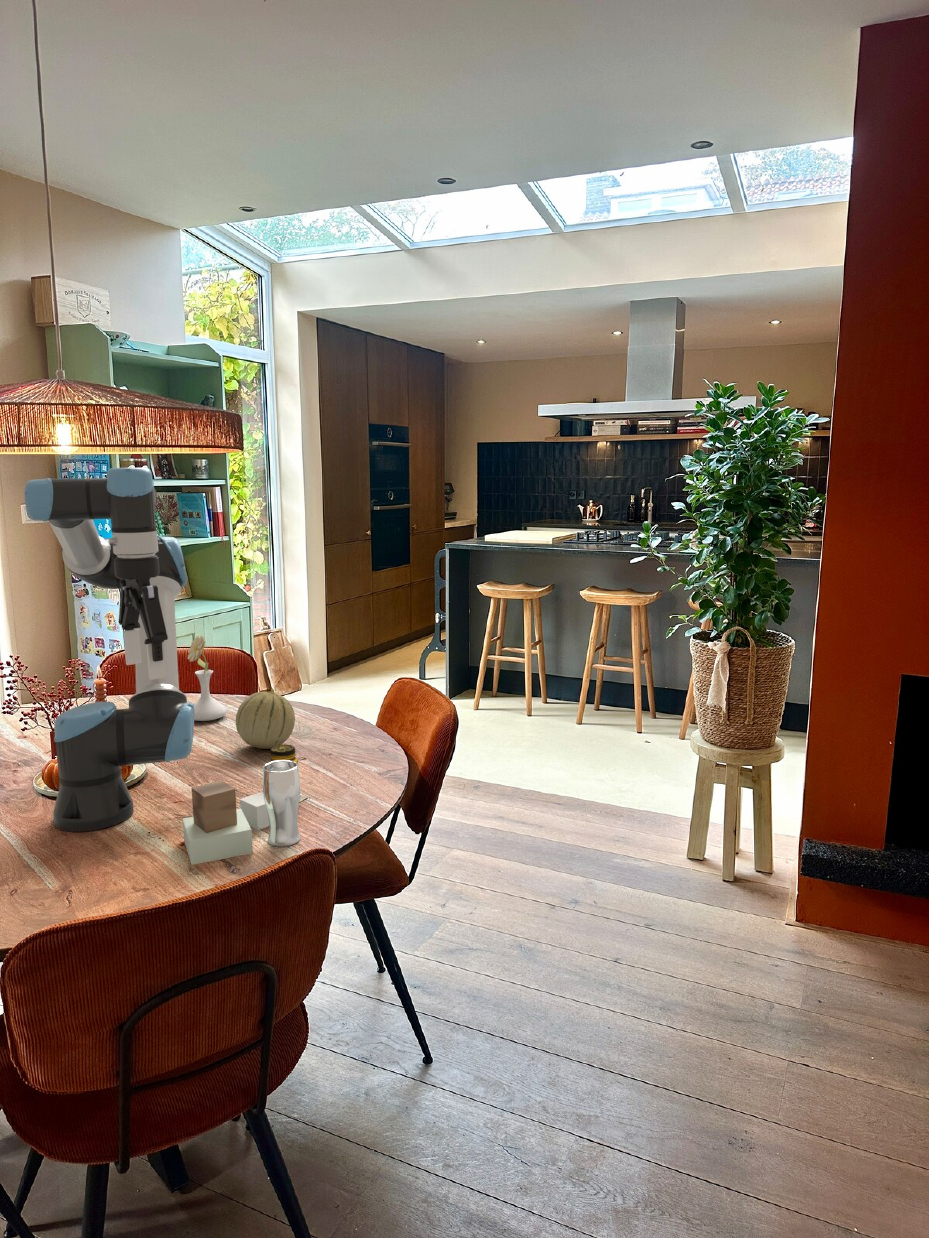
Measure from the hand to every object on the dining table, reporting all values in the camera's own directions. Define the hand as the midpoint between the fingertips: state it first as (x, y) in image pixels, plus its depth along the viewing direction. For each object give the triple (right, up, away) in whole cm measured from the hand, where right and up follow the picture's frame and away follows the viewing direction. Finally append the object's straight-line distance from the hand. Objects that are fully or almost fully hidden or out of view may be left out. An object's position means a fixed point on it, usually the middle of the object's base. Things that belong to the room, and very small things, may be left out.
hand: (145, 670), depth 154 cm
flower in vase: (-15, -19, +87) cm, 90 cm away
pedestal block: (+12, -34, +5) cm, 36 cm away
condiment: (+19, -30, +28) cm, 45 cm away
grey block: (+17, -32, +17) cm, 40 cm away
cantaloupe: (+8, -24, +62) cm, 67 cm away
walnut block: (+11, -29, +5) cm, 32 cm away
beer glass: (+24, -33, +8) cm, 42 cm away
